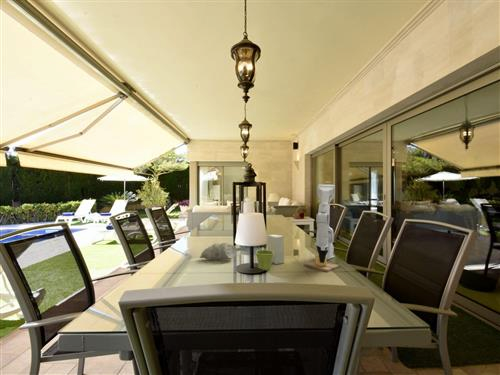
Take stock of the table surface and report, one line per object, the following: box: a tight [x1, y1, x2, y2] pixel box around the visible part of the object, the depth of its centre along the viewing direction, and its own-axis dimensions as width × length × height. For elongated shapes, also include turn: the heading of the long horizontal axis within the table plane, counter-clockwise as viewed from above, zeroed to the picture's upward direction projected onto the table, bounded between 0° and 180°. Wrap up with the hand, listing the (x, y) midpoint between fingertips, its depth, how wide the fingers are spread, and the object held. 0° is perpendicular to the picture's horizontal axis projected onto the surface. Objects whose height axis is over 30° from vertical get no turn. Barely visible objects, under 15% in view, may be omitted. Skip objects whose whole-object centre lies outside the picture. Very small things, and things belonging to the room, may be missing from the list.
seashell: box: [199, 242, 237, 262], centre depth 157 cm, size 16×15×10 cm
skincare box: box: [266, 234, 285, 265], centre depth 157 cm, size 8×6×15 cm
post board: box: [303, 259, 341, 273], centre depth 151 cm, size 13×14×4 cm
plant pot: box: [254, 249, 274, 271], centre depth 143 cm, size 9×9×9 cm
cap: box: [315, 253, 328, 266], centre depth 151 cm, size 6×6×5 cm
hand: (321, 261), depth 151 cm, fingers closed on cap, 5 cm apart
